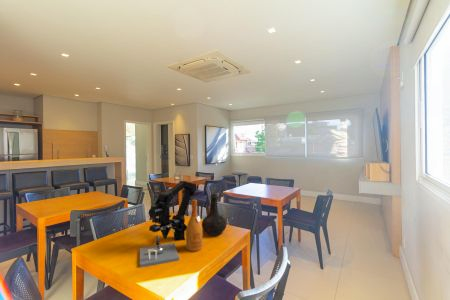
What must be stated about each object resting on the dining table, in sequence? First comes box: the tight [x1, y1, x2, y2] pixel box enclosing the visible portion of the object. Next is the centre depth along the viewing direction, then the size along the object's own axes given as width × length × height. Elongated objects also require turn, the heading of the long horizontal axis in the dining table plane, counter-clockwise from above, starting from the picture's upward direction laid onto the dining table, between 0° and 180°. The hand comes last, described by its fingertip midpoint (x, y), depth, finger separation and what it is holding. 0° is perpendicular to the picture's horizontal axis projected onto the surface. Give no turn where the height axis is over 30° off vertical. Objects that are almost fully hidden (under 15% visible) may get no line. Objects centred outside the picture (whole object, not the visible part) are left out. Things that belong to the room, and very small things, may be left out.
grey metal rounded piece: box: [147, 235, 163, 254], centre depth 130 cm, size 9×11×6 cm
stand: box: [139, 242, 180, 268], centre depth 128 cm, size 20×20×7 cm
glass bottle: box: [201, 193, 228, 236], centre depth 161 cm, size 18×18×28 cm
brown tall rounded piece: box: [185, 199, 203, 252], centre depth 136 cm, size 10×10×30 cm
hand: (164, 238), depth 139 cm, fingers closed
